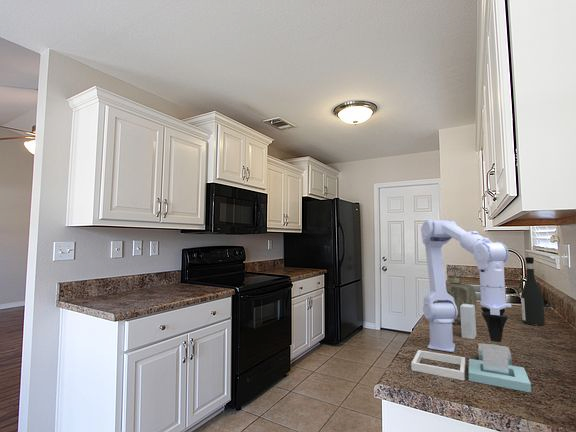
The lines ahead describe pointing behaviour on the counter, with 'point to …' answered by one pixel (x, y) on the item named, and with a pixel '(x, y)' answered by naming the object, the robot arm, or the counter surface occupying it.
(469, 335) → the skincare box
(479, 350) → the button housing
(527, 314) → the wine bottle
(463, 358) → the white square frame
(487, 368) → the billet
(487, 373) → the pale blue window frame
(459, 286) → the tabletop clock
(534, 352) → the counter surface
